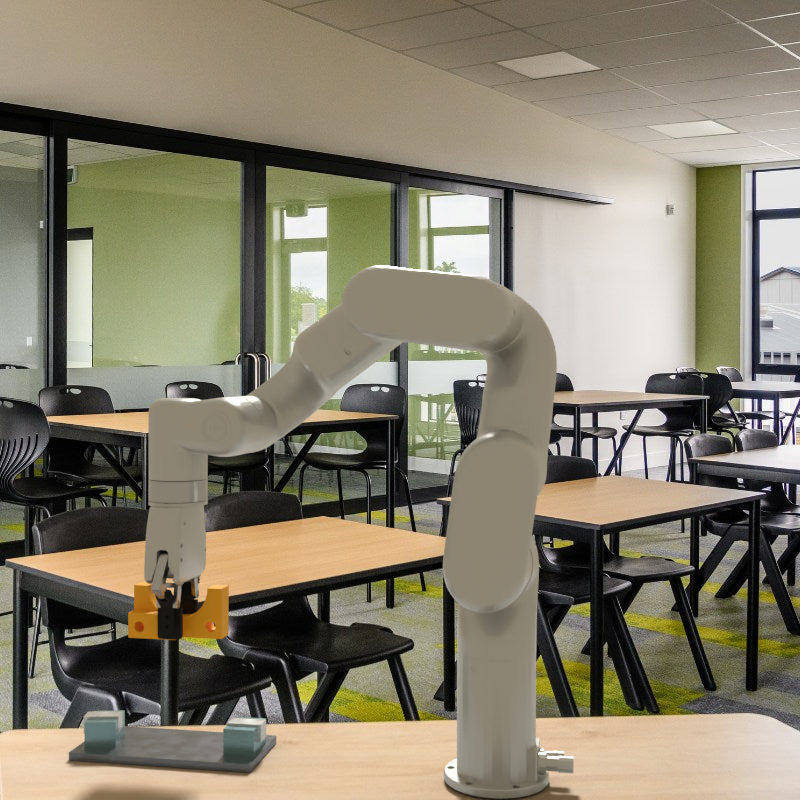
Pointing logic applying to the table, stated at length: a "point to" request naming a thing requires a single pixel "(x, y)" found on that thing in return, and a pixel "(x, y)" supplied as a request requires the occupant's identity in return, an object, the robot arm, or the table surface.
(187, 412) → the robot arm
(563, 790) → the table surface
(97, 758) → the workpiece vise
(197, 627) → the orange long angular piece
